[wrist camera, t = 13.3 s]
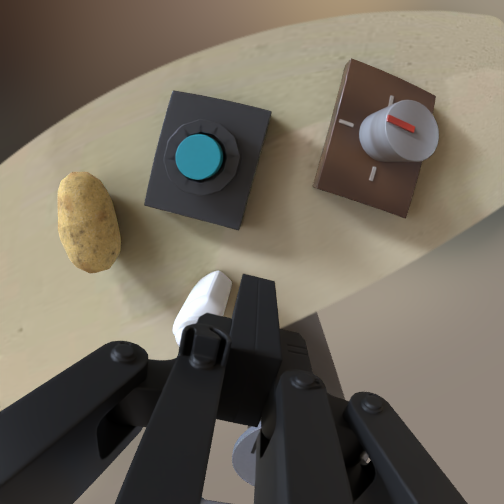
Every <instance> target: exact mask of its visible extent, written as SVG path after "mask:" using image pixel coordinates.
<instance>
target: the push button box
mask: <svg viewBox="0 0 504 504" xmlns="http://www.w3.org/2000/svg"><path fill="white" fill-rule="evenodd" d="M270 118H271V111H268V110H264V109H261V108H257V107H253V106H248V105H244V104H240V103H236V102H231V101H226V100H222V99H217V98H212V97H207V96H202V95H196V94H191V93H185V92H179V91H173V92H172V95H171V98H170V102H169V105H168V108H167V112H166V115H165V119H164V123H163V126H162V130H161V134H160V138H159V142H158V146H157V150H156V154H155V158H154V162H153V166H152V171H151V175H150V180H149V184H148V189H147V194H146V199H145V204H144V205H145V206H149V207H152V208H156V209H160V210H164V211H168V212H172V213H176V214H179V215H183V216H187V217H191V218H195V219H198V220H202V221H206V222H210V223H213V224H217V225H221V226H225V227H228V228H232V229H236V230H239V229H240V226H241V223H242V219H243V215H244V212H245V208H246V204H247V201H248V197H249V193H250V189H251V186H252V182H253V179H254V175H255V171H256V168H257V164H258V160H259V157H260V153H261V150H262V146H263V142H264V139H265V135H266V132H267V128H268V125H269V121H270ZM195 134H202V135H206V136H209V137H211V138H212V139H214V140H215V141H217V142H218V144H219V145H220V146H221V148H222V151H223V162H222V165H221V167H220V169H219V170H218V172H217V173H216V174H214V175H213V176H211V177H209V178H205V179H200V180H195V179H191V178H188V177H186V176H185V175H183V174H182V173H181V172H180V170H179V169H178V167H177V164H176V151H177V149H178V146H179V145H180V143H181V142H182V141H183V140H184V139H186V138H187V137H189V136H191V135H195Z"/></svg>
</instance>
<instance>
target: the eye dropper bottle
mask: <svg viewBox="0 0 504 504" xmlns="http://www.w3.org/2000/svg"><path fill="white" fill-rule="evenodd" d="M231 286H232V281H231V280H230V279H229V278H228V277H227V276H226V275H225V274H224V273H223V272H221V271H214V272H211V273H209V274H208V275H206V276H204V277H203V278H202V279H201V280H199V281H198V282H197V284H196V285H195V286H194V288H193V289H192V291H191V292H190V294H189V296H188V298H187V299H186V301H185V303H184V305H183V307H182V308H181V310H180V312H179V314H178V316H177V318H176V320H175V322H174V325H173V333H174V335H175V336H176V341H177V344H178V345H179V346H180V341H181V335H182V330H183V329H184V328H185V327H186V326H187V325H190V324H196V323H197V320H198V318H199V317H200V316H202V315H203V314H205V313H211V314H215V315H219V316H223V314H224V311H225V308H226V305H227V301H228V298H229V294H230V290H231Z"/></svg>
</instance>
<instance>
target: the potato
mask: <svg viewBox="0 0 504 504" xmlns="http://www.w3.org/2000/svg"><path fill="white" fill-rule="evenodd" d="M58 231H59V236H60V240H61V242H62V244H63V246H64V248H65V250H66V252H67V254H68V257H69V259H70V260H71V262H72V263H73V264H74V265H75V266H76V267H77V268H79V269H82V270H84V271H86V272H88V273H96V272H100V271H103V270H107V269H110V267H111V266H112V264H113V263H114V262H115V260H116V258H117V257H118V255H119V253H120V252H121V237H120V231H119V226H118V222H117V218H116V214H115V210H114V206H113V202H112V200H111V198H110V196H109V194H108V192H107V190H106V188H105V187H104V185H103V184H102V182H101V181H100V180H99V179H97V178H96V177H94V176H93V175H91V174H90V173H88V172H72V173H70V174H69V175H68V176H67V177H65V178H64V179H63V180H62V181H61V183H60V186H59V190H58Z"/></svg>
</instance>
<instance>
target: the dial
mask: <svg viewBox="0 0 504 504" xmlns="http://www.w3.org/2000/svg"><path fill="white" fill-rule="evenodd" d="M359 138H360V142H361V145H362V147H363V149H364V151H365V152H366V153H367V154H368V155H369V156H370V157H371V158H373V159H375V160H377V161H381V162H420V161H423V160H426V159H427V158H429V157H430V156H431V155H432V154H433V153H434V151H435V150H436V148H437V145H438V141H439V130H438V126H437V122H436V120H435V118H434V116H433V115H432V113H431V112H430V111H429V110H428V109H427V108H426V107H425V106H424V105H422V104H421V103H419V102H416V101H413V100H402V101H399V102H397V103H395V104H392V105H390V106H388V107H386V108H384V109H381V110H379V111H377V112H375V113H373V114H371V115H369V116H367V117H366V118H365V119H364V121H363V122H362V124H361V126H360V131H359Z"/></svg>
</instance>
